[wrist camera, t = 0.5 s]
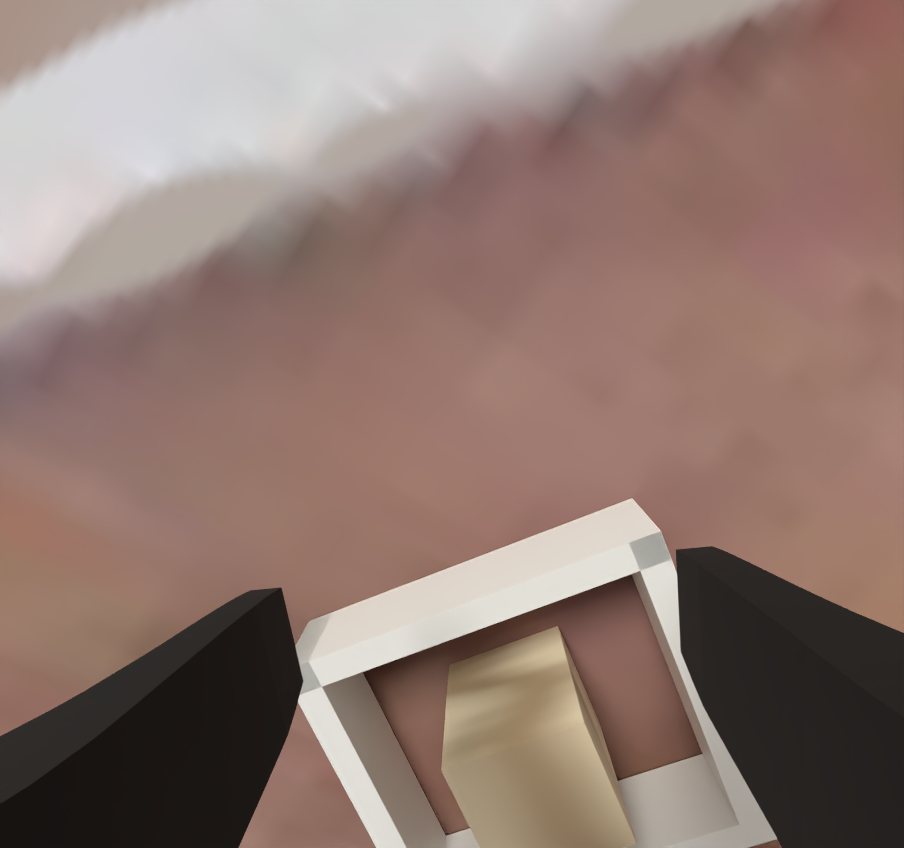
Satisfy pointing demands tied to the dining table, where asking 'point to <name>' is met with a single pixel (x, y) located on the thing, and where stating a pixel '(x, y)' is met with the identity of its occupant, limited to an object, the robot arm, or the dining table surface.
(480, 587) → the box
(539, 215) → the dining table surface
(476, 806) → the wood block
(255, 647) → the robot arm
